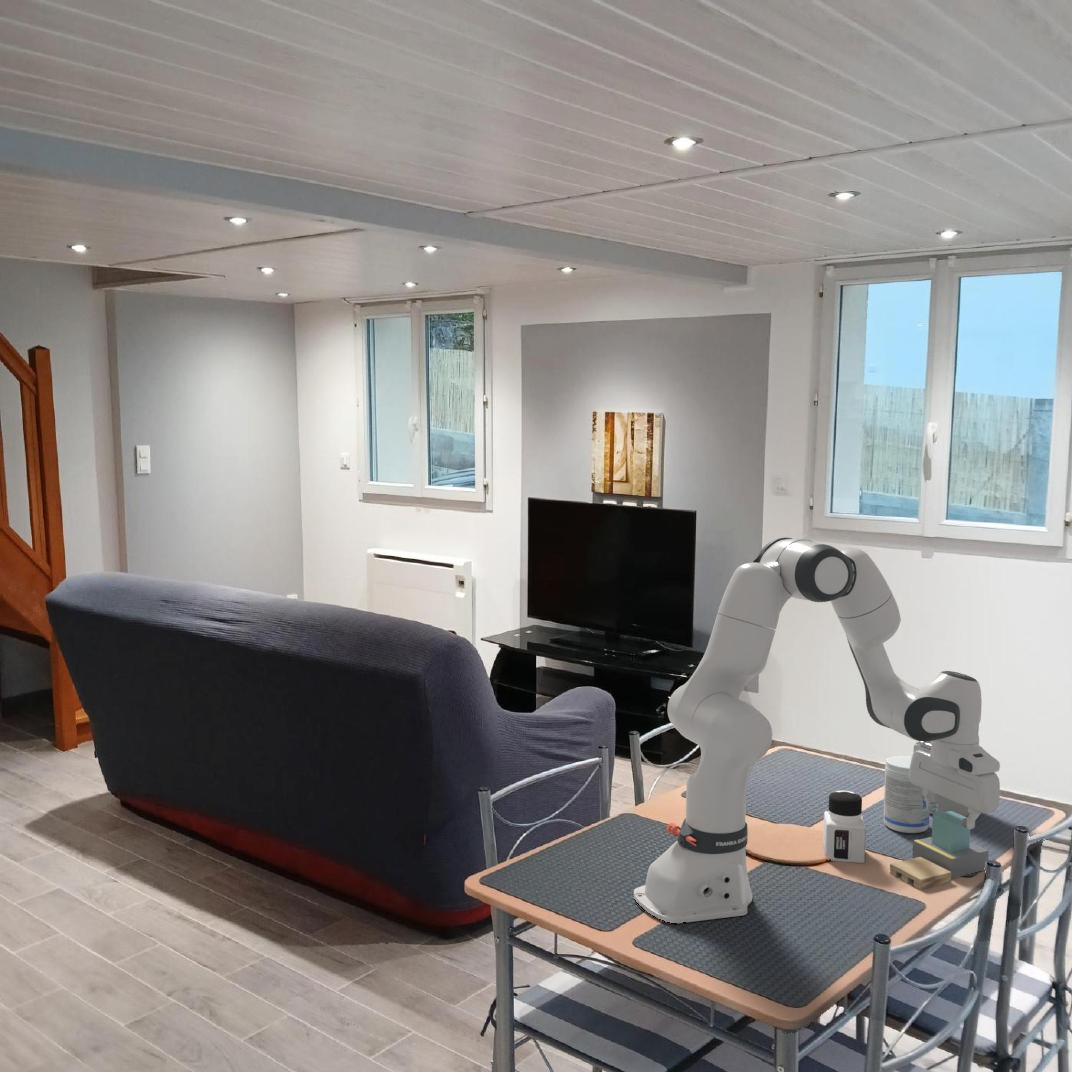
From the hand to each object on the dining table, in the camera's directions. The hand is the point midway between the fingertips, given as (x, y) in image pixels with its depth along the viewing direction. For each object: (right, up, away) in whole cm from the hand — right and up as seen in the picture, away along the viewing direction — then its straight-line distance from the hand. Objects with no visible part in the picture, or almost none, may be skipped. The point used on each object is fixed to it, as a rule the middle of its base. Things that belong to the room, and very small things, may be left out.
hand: (949, 819), depth 213 cm
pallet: (-8, -10, -5) cm, 14 cm away
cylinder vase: (+11, -6, +32) cm, 34 cm away
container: (-20, -9, +6) cm, 22 cm away
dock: (+1, -9, +1) cm, 10 cm away
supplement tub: (-1, -7, +21) cm, 23 cm away
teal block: (0, -6, +1) cm, 6 cm away
